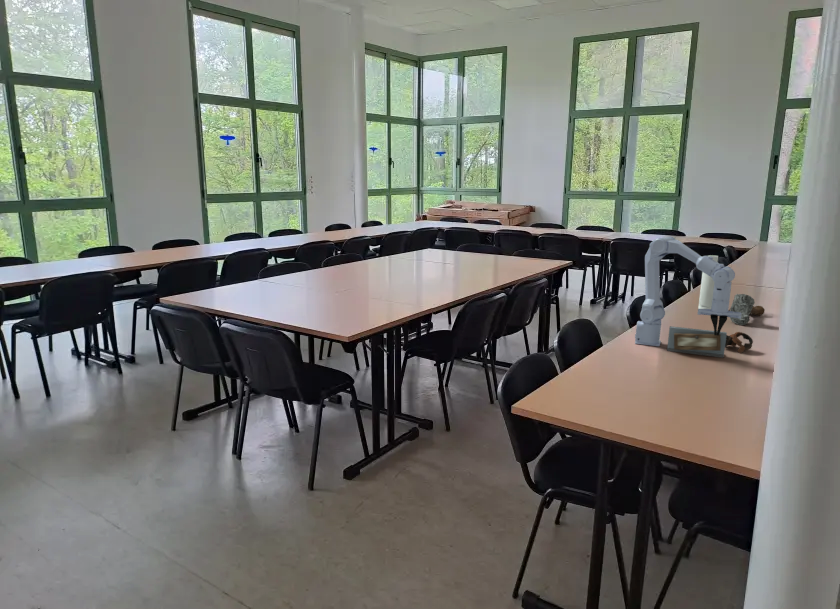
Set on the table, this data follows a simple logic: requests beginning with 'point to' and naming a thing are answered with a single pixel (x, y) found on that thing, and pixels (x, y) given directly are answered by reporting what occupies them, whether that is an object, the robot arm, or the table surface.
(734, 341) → the pottery mug
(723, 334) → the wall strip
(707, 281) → the bottle
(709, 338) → the brown rectangular panel
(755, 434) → the table surface
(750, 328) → the table surface
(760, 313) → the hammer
